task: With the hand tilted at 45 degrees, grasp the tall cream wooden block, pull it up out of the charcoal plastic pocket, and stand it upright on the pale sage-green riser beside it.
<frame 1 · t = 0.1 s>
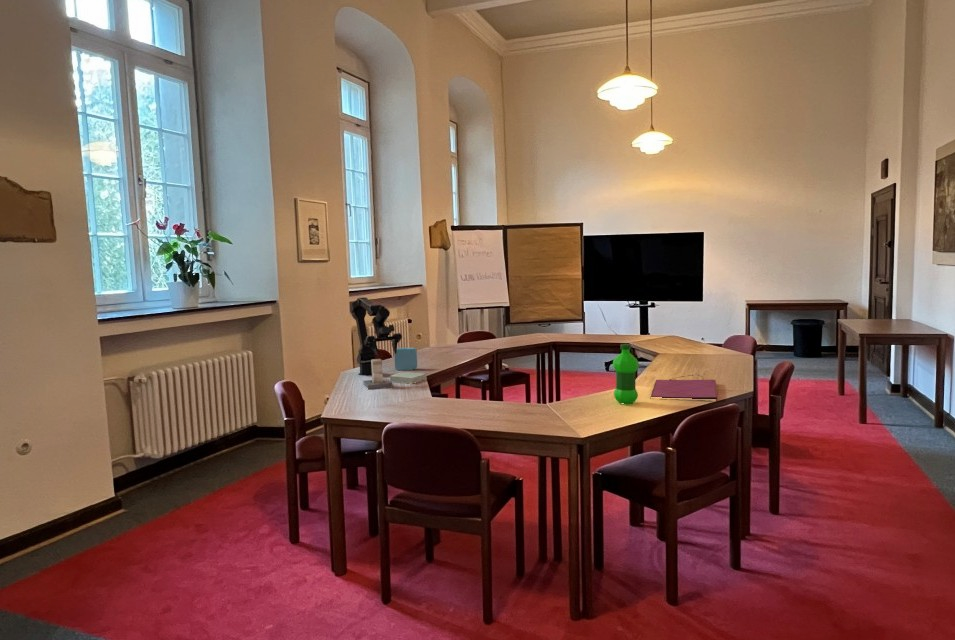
hand: (387, 354, 331), 15 cm above the table, tool tilted 35°, fingers open, 9 cm apart
plastic bottle: (625, 403, 278), on the table
pocket holder: (377, 385, 328), on the table
maroon hardcover notebook: (684, 391, 300), on the table
light blue square slab: (406, 369, 370), on the table
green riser: (408, 380, 339), on the table
cream block: (377, 372, 327), in the pocket holder
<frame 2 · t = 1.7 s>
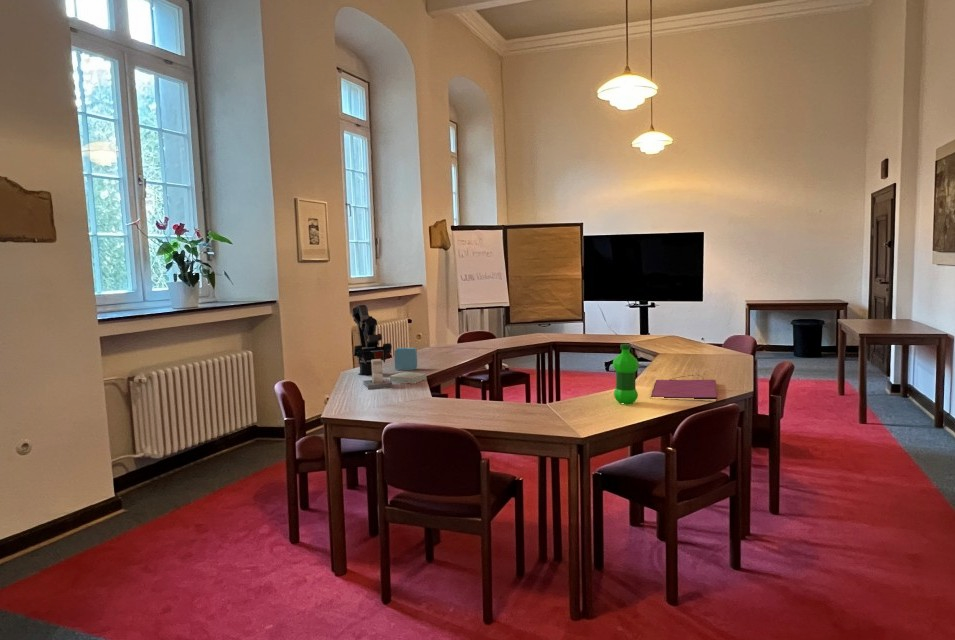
hand: (375, 362, 330), 11 cm above the table, tool tilted 45°, fingers open, 9 cm apart
nothing on the table moved.
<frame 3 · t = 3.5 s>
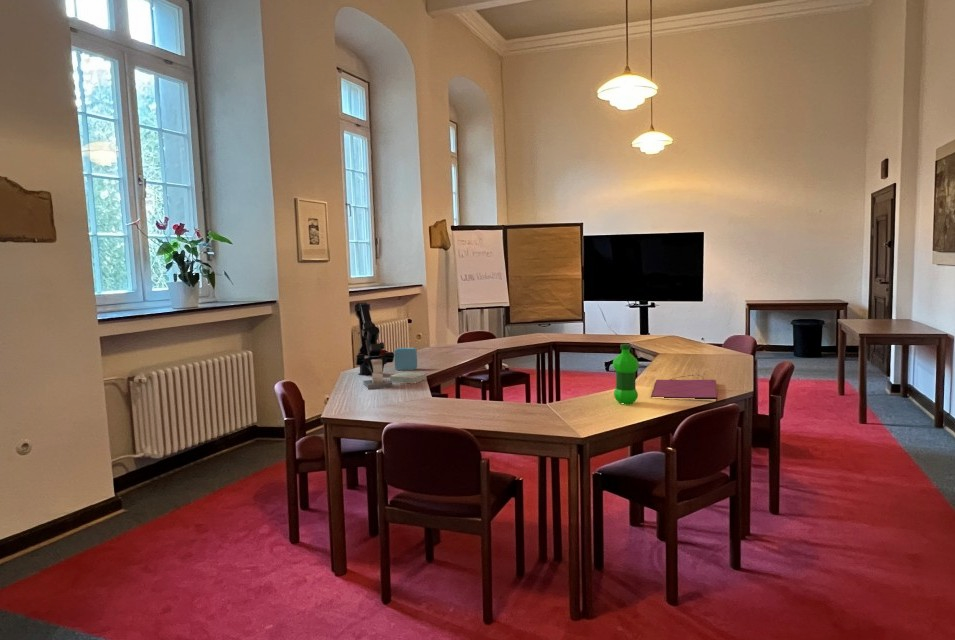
hand: (377, 372, 326), 7 cm above the table, tool tilted 45°, fingers closed on cream block, 4 cm apart
cream block: (377, 372, 327), in the pocket holder, touching gripper
everything else where it was.
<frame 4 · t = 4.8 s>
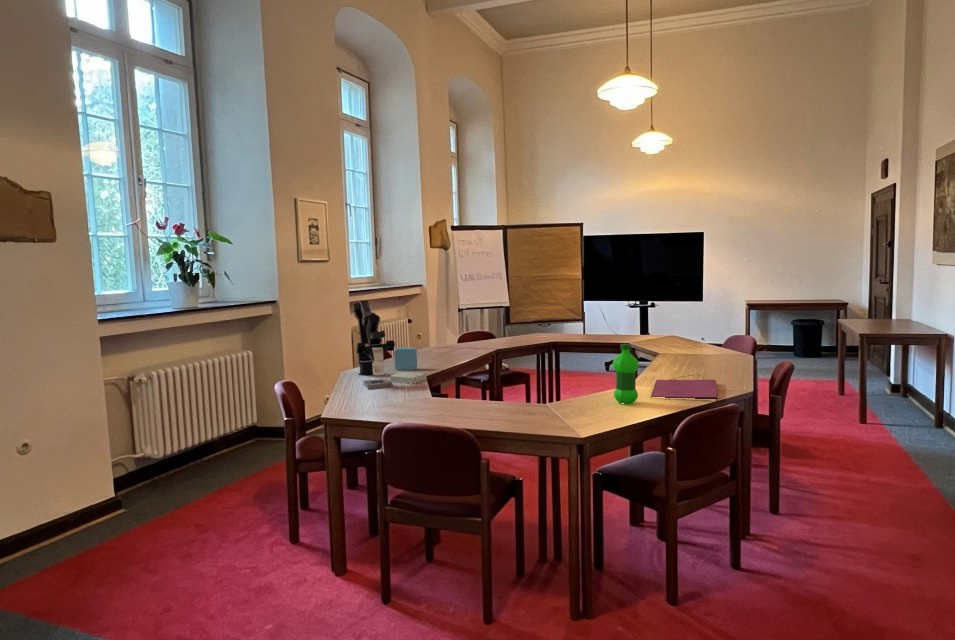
hand: (378, 360, 326), 13 cm above the table, tool tilted 45°, fingers closed on cream block, 4 cm apart
cream block: (378, 361, 327), point 12 cm above the table, touching gripper
everything else where it was.
when the fingers open (11 cm above the table, at t = 6.4 s): cream block drops 1 cm, resting on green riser.
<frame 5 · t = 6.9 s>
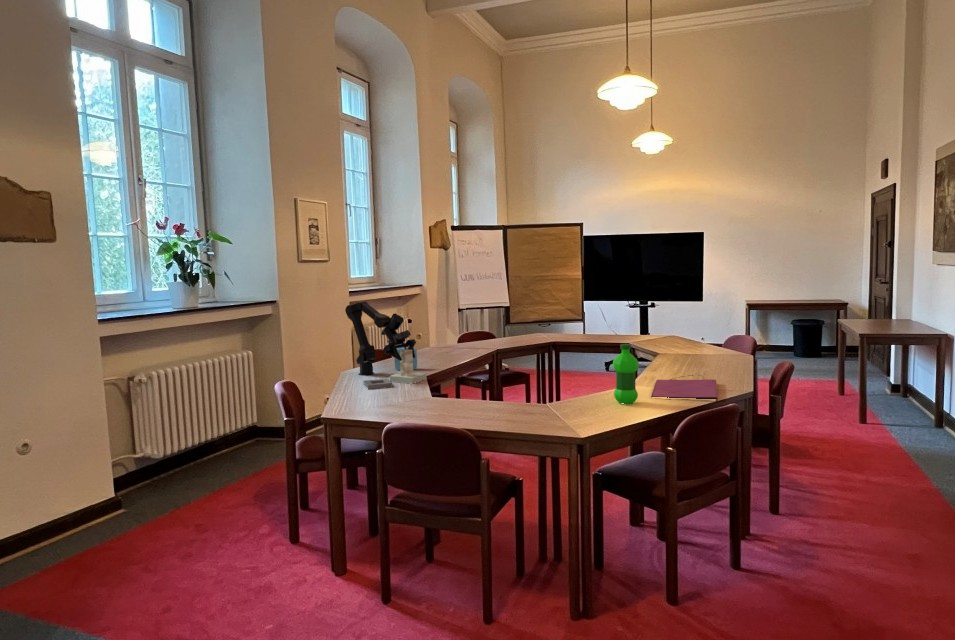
hand: (408, 358, 336), 12 cm above the table, tool tilted 45°, fingers open, 9 cm apart
cream block: (406, 362, 337), on the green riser, point 10 cm above the table
everything else where it was.
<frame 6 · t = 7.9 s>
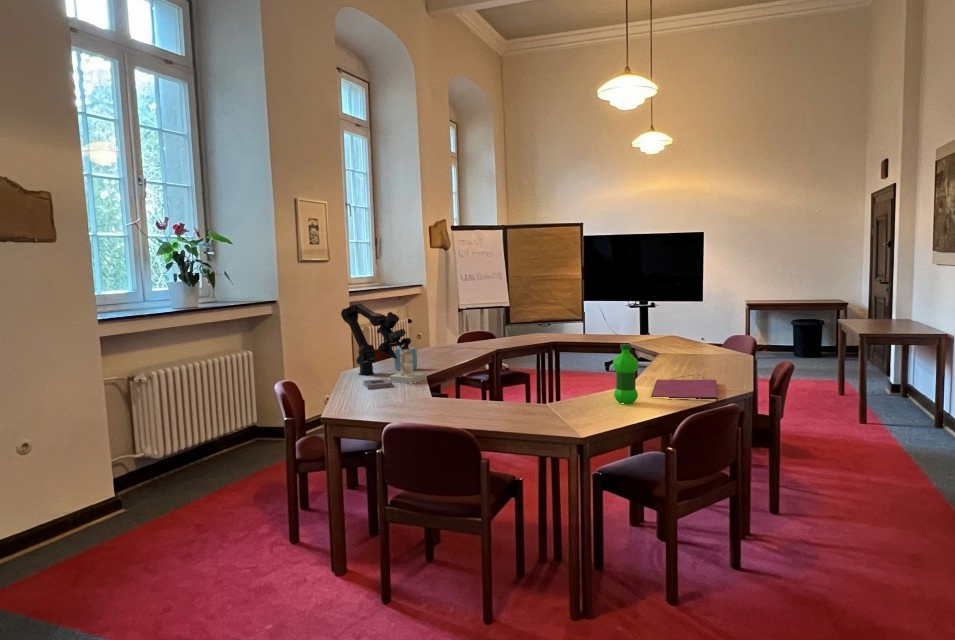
hand: (403, 357, 338), 12 cm above the table, tool tilted 45°, fingers open, 9 cm apart
nothing on the table moved.
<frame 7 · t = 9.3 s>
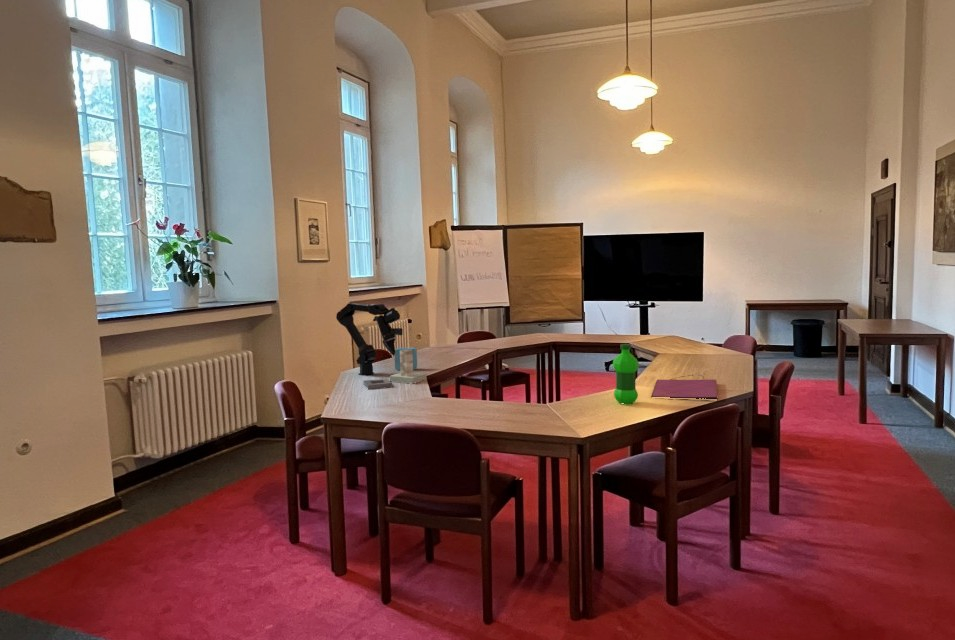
hand: (394, 354, 347), 12 cm above the table, tool tilted 20°, fingers open, 9 cm apart
nothing on the table moved.
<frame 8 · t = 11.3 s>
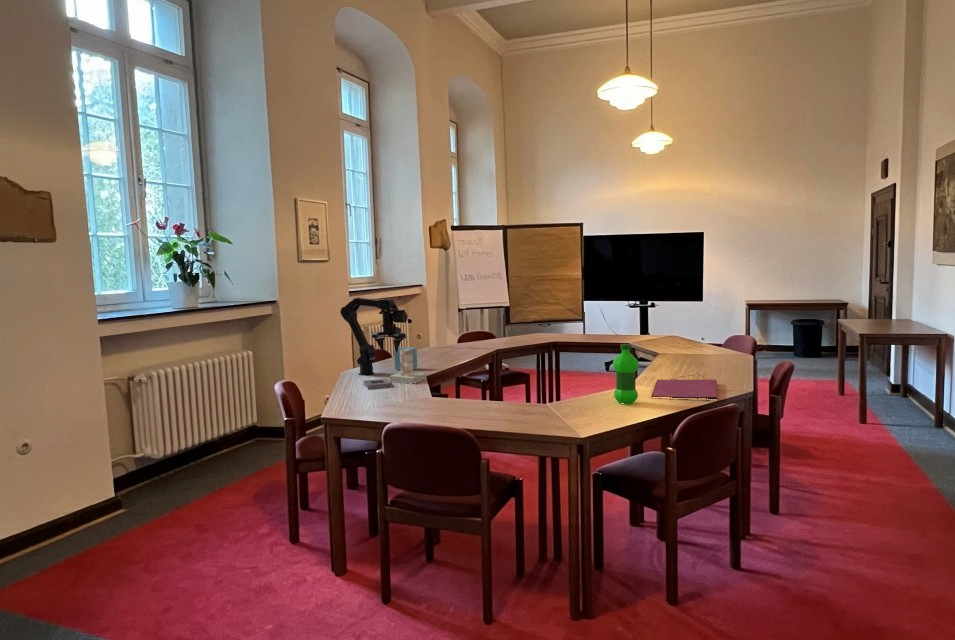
hand: (389, 351, 352), 13 cm above the table, tool pointing down, fingers open, 9 cm apart
nothing on the table moved.
at the end: cream block inside the target area on the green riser (0.5 cm from its centre), point 9.5 cm above the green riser's base; cream block tilted 0°; the gripper is holding nothing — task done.
